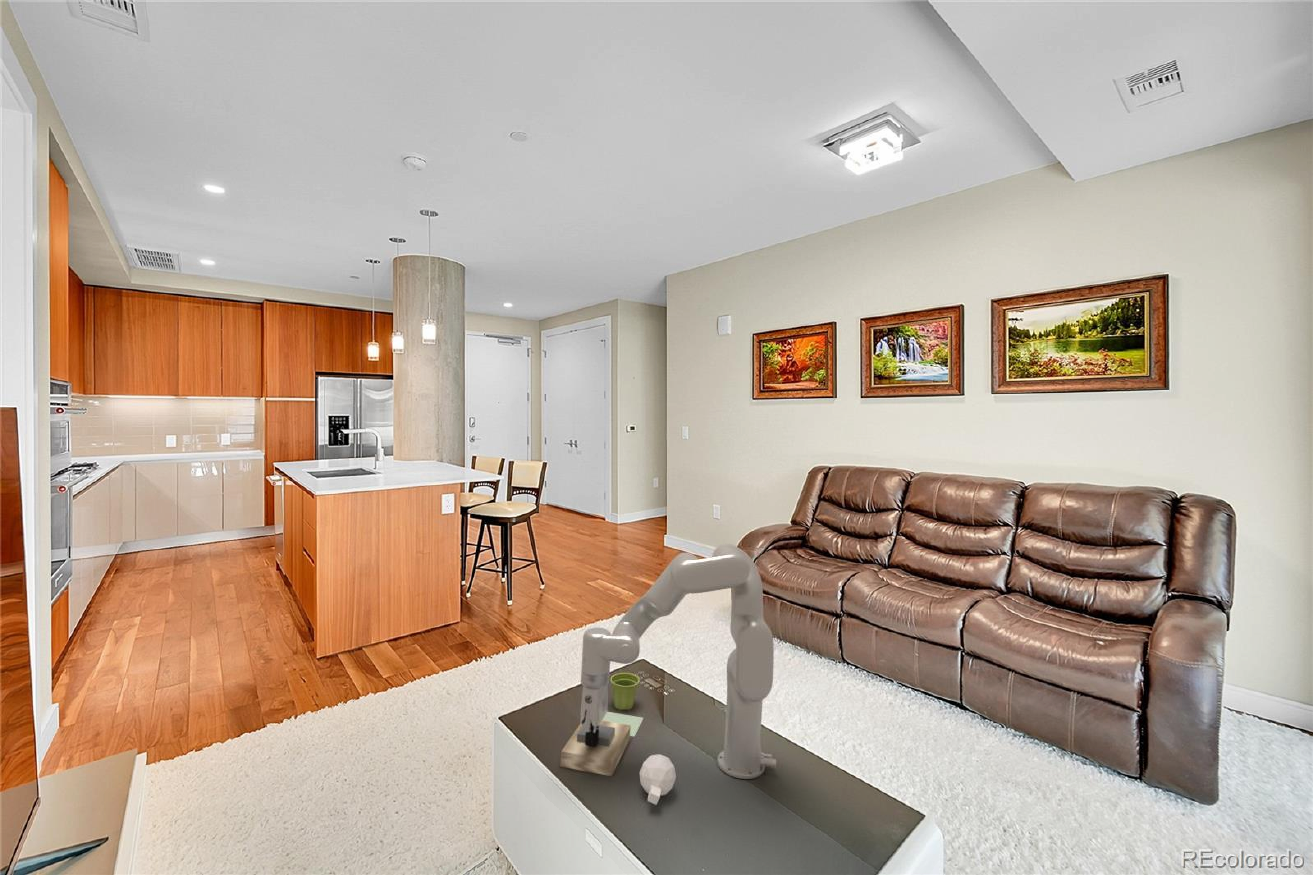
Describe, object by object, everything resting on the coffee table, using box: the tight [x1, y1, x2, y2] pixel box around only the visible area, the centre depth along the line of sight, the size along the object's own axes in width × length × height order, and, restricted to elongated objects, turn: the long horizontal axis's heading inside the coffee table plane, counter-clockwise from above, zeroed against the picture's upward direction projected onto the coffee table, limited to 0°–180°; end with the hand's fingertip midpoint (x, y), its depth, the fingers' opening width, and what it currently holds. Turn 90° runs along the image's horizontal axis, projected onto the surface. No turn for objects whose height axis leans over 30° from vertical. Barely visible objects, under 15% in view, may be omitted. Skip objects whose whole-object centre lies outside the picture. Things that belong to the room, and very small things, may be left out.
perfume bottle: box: [639, 753, 677, 805], centre depth 137 cm, size 9×9×12 cm
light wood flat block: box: [560, 721, 631, 777], centre depth 154 cm, size 14×18×4 cm
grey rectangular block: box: [577, 723, 615, 747], centre depth 154 cm, size 9×6×2 cm, turn 79°
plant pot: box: [610, 672, 641, 711], centre depth 181 cm, size 9×9×9 cm
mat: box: [602, 711, 644, 738], centre depth 170 cm, size 16×11×1 cm
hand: (591, 744), depth 149 cm, fingers closed
